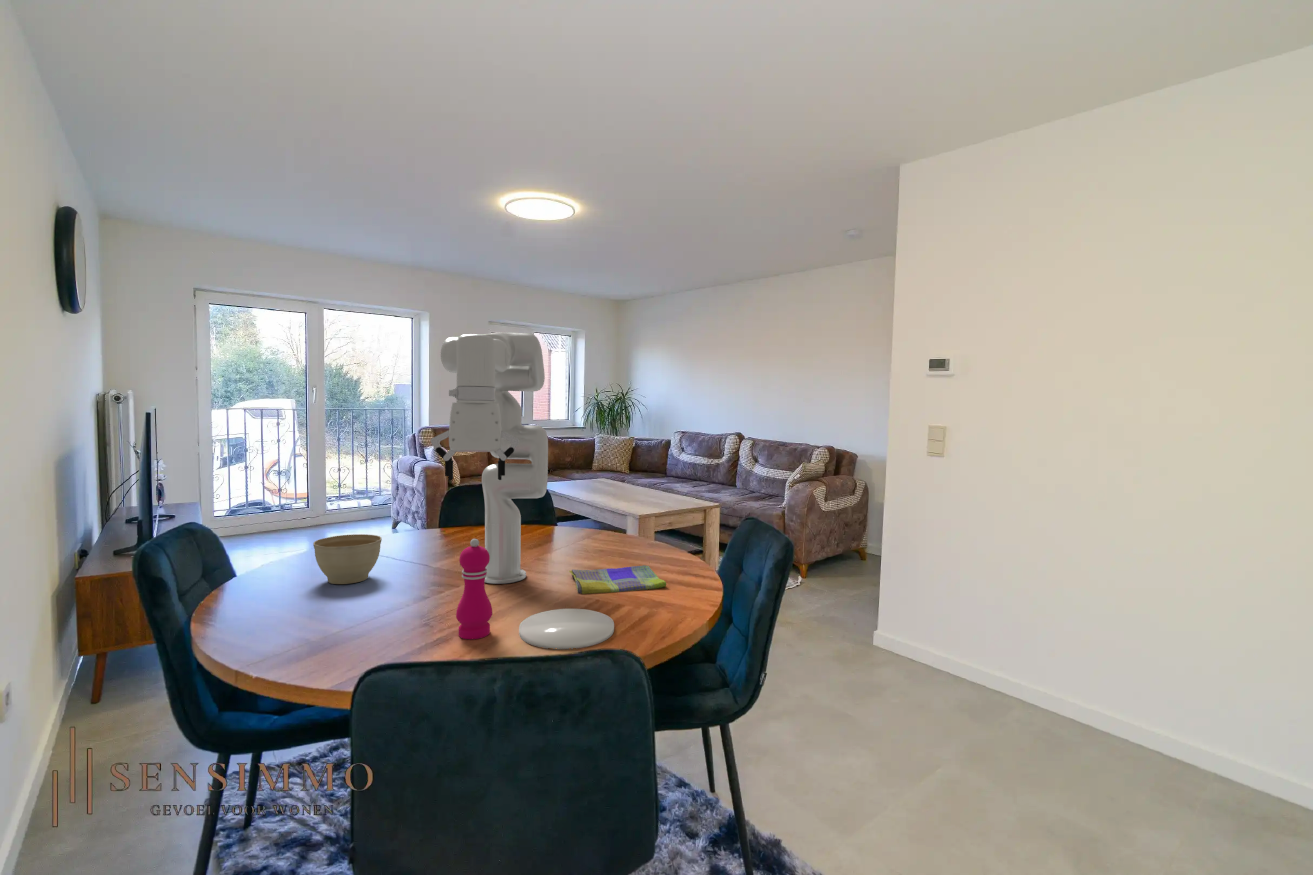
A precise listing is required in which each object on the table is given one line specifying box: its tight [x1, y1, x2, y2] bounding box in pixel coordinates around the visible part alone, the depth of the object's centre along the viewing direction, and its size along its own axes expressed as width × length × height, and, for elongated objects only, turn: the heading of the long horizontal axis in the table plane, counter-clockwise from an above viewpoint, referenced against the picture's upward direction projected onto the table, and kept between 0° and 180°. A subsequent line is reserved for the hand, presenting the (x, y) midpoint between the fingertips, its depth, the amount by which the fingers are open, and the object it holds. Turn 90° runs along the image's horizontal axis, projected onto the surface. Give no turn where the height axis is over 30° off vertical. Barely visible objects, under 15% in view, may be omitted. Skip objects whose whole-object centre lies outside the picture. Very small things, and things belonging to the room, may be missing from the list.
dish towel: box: [569, 564, 667, 595], centre depth 161 cm, size 18×24×3 cm
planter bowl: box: [313, 533, 383, 585], centre depth 158 cm, size 16×16×11 cm
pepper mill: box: [455, 538, 493, 640], centre depth 122 cm, size 7×7×20 cm
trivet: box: [518, 608, 615, 650], centre depth 126 cm, size 20×20×1 cm
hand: (475, 479), depth 121 cm, fingers open, 9 cm apart
